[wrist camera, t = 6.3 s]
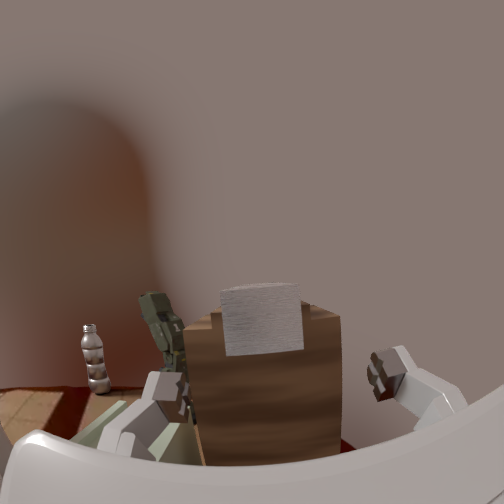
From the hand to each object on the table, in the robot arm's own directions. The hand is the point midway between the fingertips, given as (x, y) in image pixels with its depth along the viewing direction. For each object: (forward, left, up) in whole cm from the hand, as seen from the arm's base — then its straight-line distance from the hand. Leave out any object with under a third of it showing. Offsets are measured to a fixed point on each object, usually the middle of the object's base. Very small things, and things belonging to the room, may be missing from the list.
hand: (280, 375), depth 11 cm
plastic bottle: (+18, +68, -25) cm, 75 cm away
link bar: (+8, +6, +1) cm, 10 cm away
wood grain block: (+11, +8, -25) cm, 29 cm away
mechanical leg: (+25, +41, -25) cm, 54 cm away
